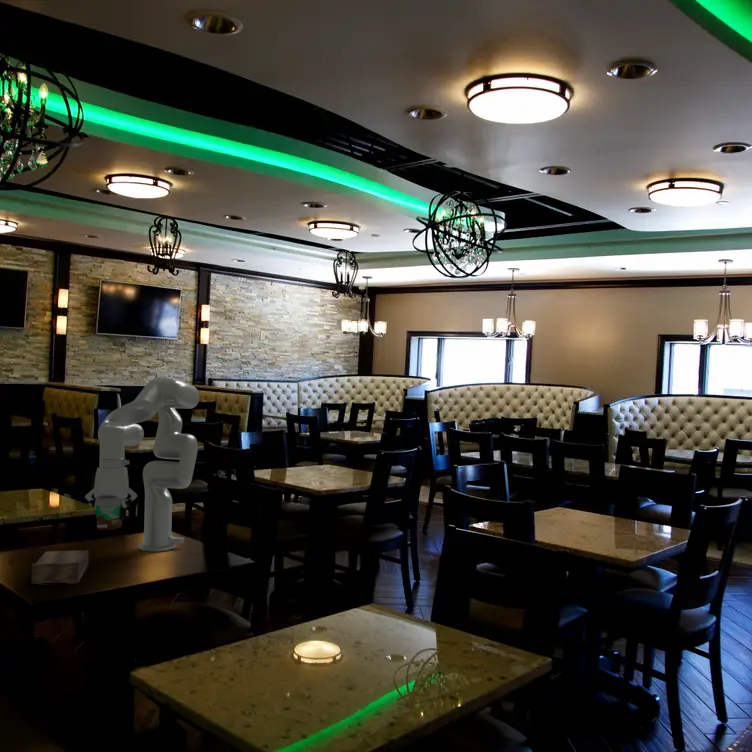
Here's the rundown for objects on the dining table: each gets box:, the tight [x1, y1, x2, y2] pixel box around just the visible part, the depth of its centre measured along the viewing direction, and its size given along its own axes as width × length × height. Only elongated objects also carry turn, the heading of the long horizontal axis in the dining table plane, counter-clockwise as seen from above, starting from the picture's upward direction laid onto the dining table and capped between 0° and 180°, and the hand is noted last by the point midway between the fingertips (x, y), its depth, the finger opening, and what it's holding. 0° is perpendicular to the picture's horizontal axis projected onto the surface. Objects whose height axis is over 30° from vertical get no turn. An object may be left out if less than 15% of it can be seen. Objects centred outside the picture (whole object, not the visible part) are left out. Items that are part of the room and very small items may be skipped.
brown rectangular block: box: [30, 550, 90, 585], centre depth 228 cm, size 13×20×6 cm, turn 13°
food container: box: [95, 497, 126, 531], centre depth 233 cm, size 12×6×10 cm, turn 170°
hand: (110, 519), depth 233 cm, fingers closed on food container, 6 cm apart
